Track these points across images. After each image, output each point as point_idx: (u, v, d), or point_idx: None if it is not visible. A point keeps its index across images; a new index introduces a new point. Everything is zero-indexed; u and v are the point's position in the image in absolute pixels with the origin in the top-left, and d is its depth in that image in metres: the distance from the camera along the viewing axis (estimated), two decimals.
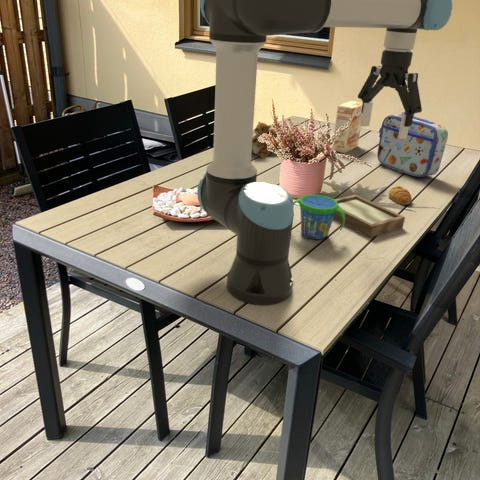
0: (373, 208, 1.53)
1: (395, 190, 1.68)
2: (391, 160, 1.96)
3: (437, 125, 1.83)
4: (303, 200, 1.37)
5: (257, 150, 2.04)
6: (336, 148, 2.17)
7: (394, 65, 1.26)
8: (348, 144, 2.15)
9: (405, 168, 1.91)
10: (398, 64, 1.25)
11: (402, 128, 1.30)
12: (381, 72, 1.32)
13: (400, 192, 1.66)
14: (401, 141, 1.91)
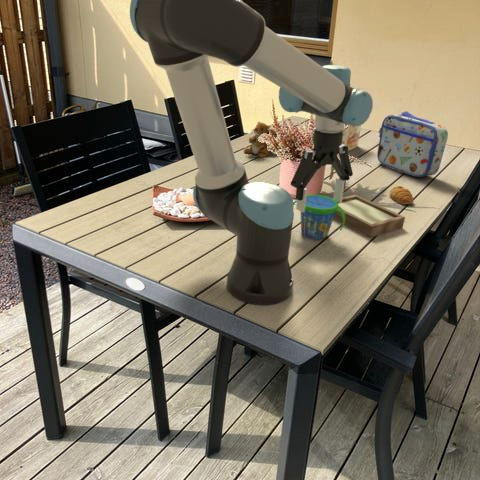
0: (373, 208, 1.53)
1: (396, 190, 1.68)
2: (391, 160, 1.96)
3: (437, 125, 1.83)
4: None
5: (257, 150, 2.04)
6: None
7: None
8: (348, 144, 2.15)
9: (405, 168, 1.91)
10: None
11: (298, 200, 1.33)
12: None
13: (401, 192, 1.67)
14: (401, 141, 1.91)
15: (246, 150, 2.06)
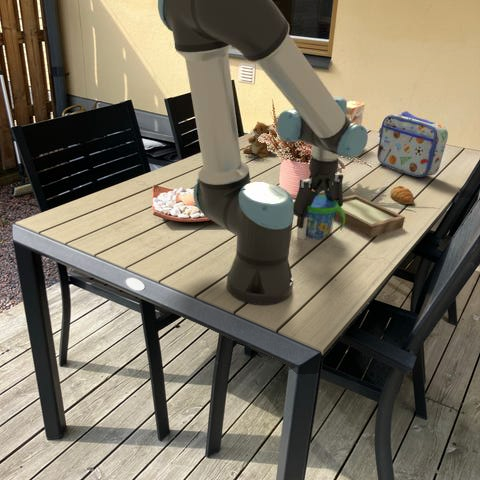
0: (373, 208, 1.53)
1: (397, 190, 1.68)
2: (391, 160, 1.96)
3: (437, 125, 1.83)
4: None
5: (256, 150, 2.04)
6: None
7: None
8: None
9: (405, 168, 1.91)
10: (309, 167, 1.32)
11: (298, 227, 1.37)
12: None
13: (402, 192, 1.67)
14: (401, 141, 1.91)
15: (245, 150, 2.06)
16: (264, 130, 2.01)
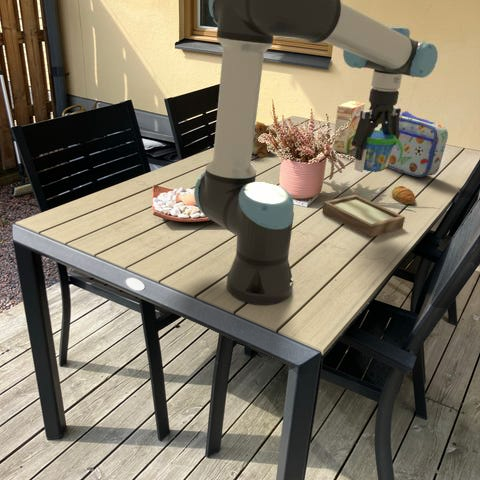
0: (373, 208, 1.53)
1: (398, 190, 1.69)
2: (391, 160, 1.96)
3: (437, 125, 1.83)
4: None
5: (255, 150, 2.04)
6: (336, 148, 2.17)
7: None
8: None
9: (405, 168, 1.91)
10: (369, 99, 1.36)
11: (356, 160, 1.41)
12: None
13: (404, 192, 1.67)
14: (401, 141, 1.91)
15: None
16: (263, 130, 2.01)
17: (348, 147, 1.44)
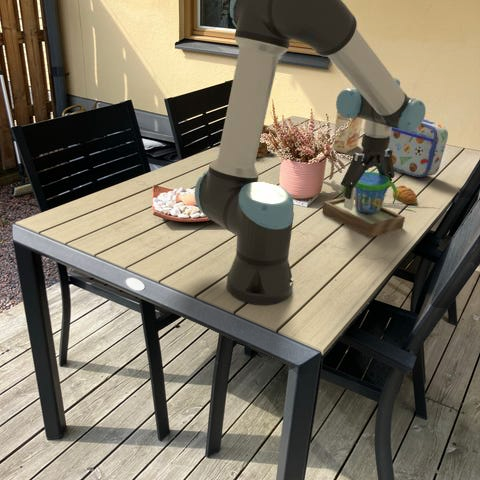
0: None
1: (400, 189, 1.69)
2: None
3: (437, 125, 1.83)
4: None
5: None
6: (336, 148, 2.17)
7: None
8: (348, 144, 2.15)
9: (405, 168, 1.91)
10: (361, 144, 1.41)
11: (346, 199, 1.45)
12: None
13: (405, 191, 1.67)
14: (401, 141, 1.91)
15: None
16: (262, 130, 2.01)
17: None
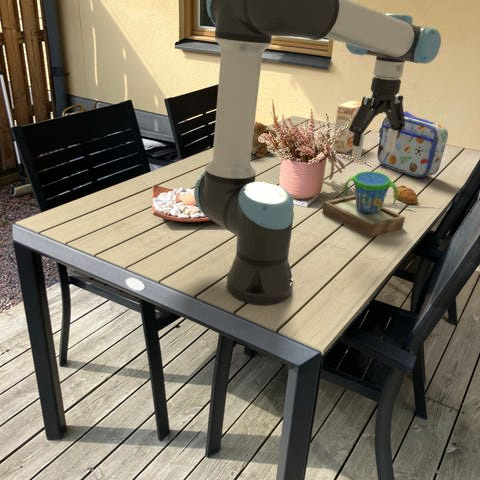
0: None
1: (400, 189, 1.69)
2: (391, 160, 1.96)
3: (437, 125, 1.83)
4: (357, 178, 1.47)
5: (254, 150, 2.04)
6: (336, 148, 2.17)
7: None
8: (348, 144, 2.15)
9: (405, 168, 1.91)
10: (371, 88, 1.34)
11: (354, 147, 1.38)
12: None
13: (406, 191, 1.68)
14: (401, 141, 1.91)
15: None
16: (262, 130, 2.01)
17: (346, 190, 1.51)
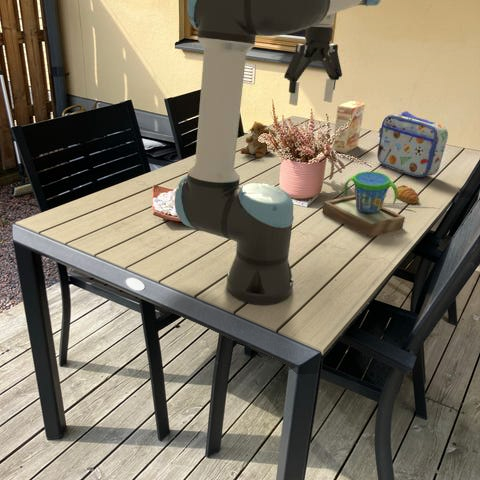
0: None
1: (401, 189, 1.69)
2: (391, 160, 1.96)
3: (437, 125, 1.83)
4: (357, 178, 1.47)
5: (253, 150, 2.04)
6: (336, 148, 2.17)
7: None
8: (348, 144, 2.15)
9: (405, 168, 1.91)
10: (305, 36, 1.40)
11: (290, 94, 1.44)
12: None
13: (407, 191, 1.68)
14: (401, 141, 1.91)
15: (243, 150, 2.06)
16: (261, 130, 2.01)
17: (345, 190, 1.51)
